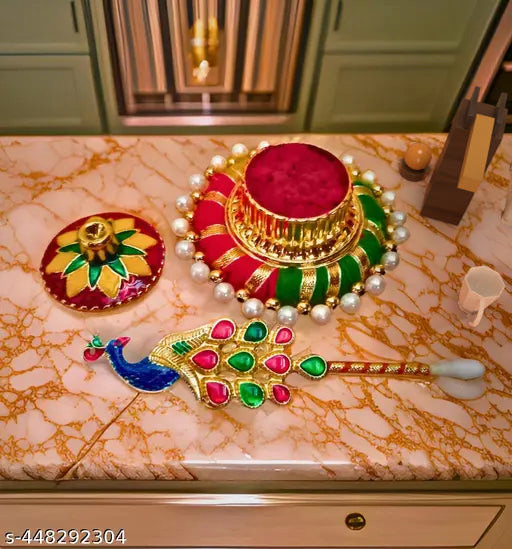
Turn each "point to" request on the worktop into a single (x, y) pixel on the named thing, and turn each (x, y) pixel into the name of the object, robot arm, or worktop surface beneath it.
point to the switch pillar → (460, 160)
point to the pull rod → (476, 153)
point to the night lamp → (416, 162)
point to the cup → (479, 291)
